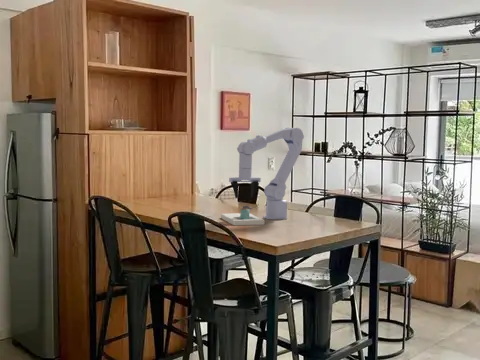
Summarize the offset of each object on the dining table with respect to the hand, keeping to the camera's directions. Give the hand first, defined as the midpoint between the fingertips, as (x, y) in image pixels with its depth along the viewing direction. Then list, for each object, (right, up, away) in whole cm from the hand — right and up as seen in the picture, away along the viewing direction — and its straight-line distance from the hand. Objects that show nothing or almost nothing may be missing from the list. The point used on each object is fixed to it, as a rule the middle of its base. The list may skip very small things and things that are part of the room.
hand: (244, 197), depth 249 cm
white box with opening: (-1, -10, -5) cm, 11 cm away
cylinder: (0, -11, -8) cm, 14 cm away
